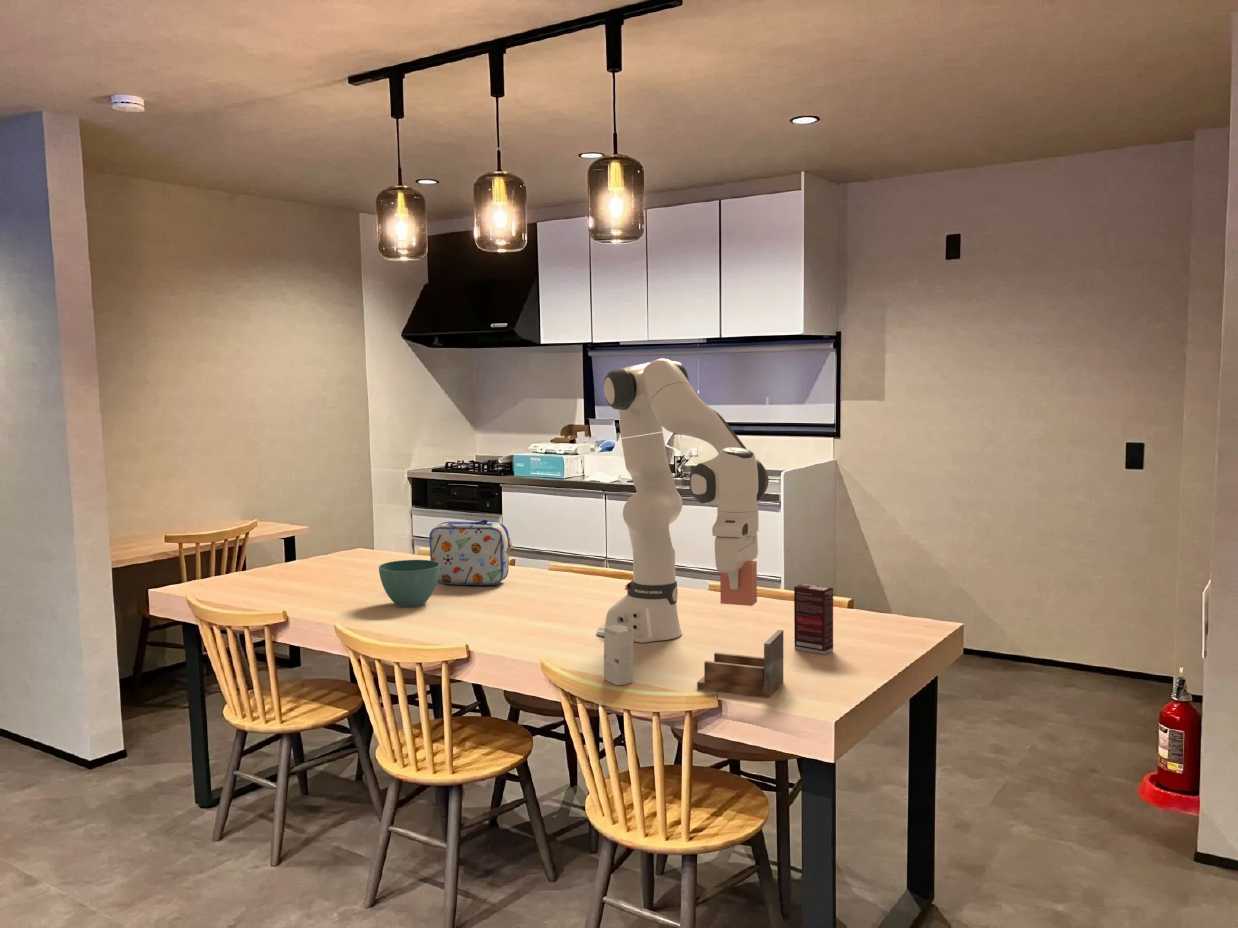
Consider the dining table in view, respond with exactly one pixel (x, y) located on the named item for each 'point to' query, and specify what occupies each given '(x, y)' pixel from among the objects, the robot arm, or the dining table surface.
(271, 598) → the dining table surface
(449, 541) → the lunch box
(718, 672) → the book rack
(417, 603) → the green bowl
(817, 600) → the supplement box
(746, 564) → the red book
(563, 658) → the dining table surface
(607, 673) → the skincare box
